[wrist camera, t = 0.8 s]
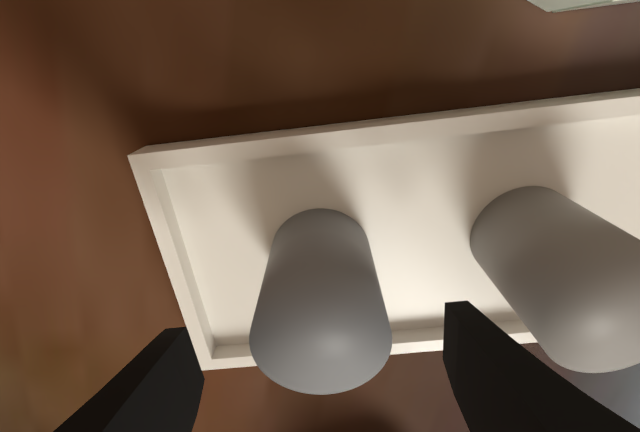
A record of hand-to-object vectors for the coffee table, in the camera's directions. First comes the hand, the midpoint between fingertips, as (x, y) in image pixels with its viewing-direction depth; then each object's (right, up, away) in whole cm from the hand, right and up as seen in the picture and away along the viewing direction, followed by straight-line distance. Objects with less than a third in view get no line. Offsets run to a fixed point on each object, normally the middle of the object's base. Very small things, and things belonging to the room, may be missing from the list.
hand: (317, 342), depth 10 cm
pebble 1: (0, +2, +5) cm, 5 cm away
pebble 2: (+8, +3, +4) cm, 9 cm away
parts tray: (+4, +3, +5) cm, 7 cm away
